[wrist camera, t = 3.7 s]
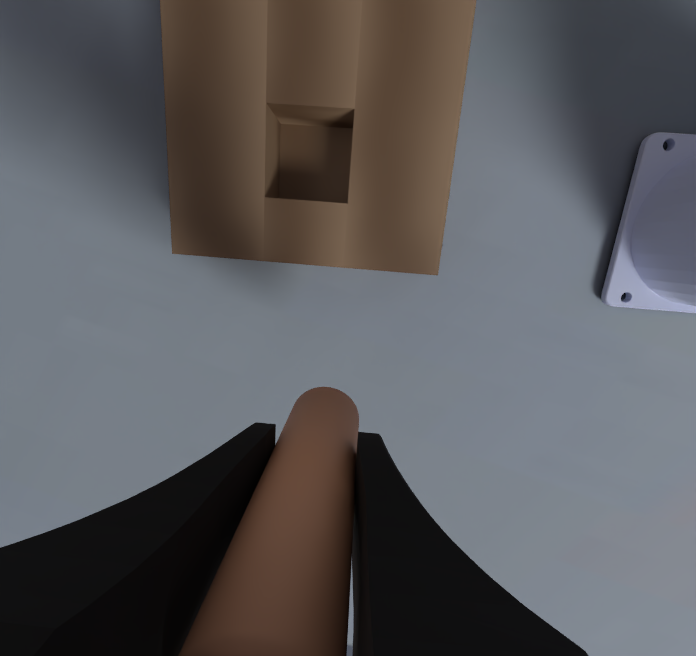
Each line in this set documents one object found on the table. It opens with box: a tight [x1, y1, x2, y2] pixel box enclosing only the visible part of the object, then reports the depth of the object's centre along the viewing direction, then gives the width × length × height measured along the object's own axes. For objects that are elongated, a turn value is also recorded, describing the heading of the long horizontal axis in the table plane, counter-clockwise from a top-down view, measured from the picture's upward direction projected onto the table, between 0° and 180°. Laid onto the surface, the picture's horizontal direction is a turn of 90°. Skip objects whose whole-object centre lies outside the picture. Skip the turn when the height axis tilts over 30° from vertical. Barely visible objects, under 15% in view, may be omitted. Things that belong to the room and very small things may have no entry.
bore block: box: [160, 0, 476, 275], centre depth 14 cm, size 12×18×3 cm, turn 176°
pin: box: [178, 387, 359, 656], centre depth 9 cm, size 2×2×8 cm
